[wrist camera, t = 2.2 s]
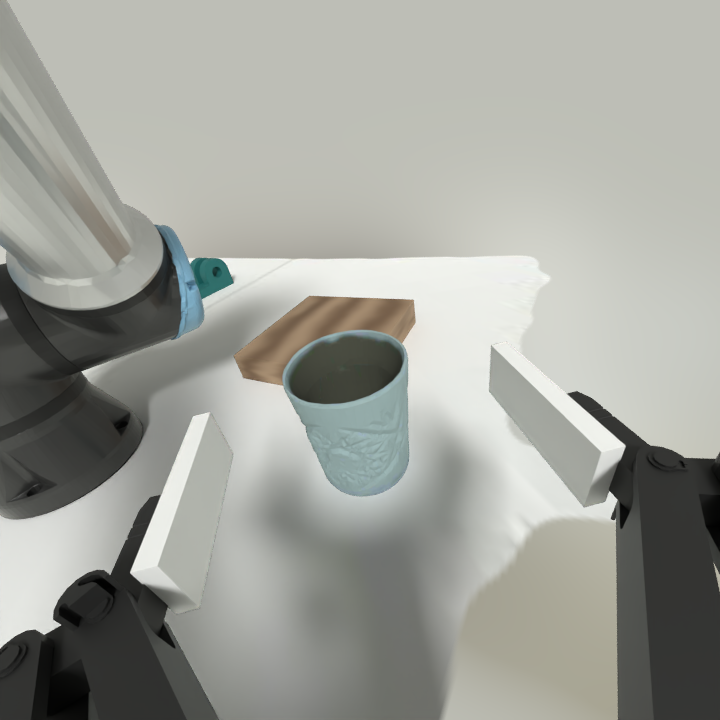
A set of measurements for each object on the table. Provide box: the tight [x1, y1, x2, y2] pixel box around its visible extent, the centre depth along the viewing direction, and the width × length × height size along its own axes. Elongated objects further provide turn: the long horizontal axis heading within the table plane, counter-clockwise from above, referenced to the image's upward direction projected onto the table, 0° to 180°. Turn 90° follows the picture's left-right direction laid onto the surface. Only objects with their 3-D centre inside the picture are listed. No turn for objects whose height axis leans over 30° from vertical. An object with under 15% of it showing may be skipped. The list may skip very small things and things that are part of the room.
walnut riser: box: [234, 296, 415, 385], centre depth 51 cm, size 20×20×4 cm
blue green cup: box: [282, 330, 409, 496], centre depth 30 cm, size 10×10×12 cm
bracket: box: [190, 258, 233, 299], centre depth 83 cm, size 18×7×8 cm, turn 148°
